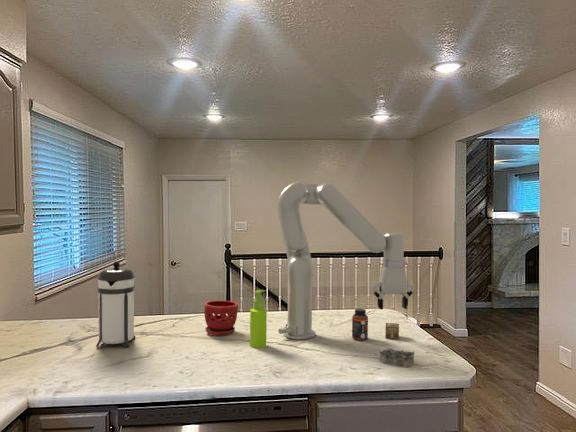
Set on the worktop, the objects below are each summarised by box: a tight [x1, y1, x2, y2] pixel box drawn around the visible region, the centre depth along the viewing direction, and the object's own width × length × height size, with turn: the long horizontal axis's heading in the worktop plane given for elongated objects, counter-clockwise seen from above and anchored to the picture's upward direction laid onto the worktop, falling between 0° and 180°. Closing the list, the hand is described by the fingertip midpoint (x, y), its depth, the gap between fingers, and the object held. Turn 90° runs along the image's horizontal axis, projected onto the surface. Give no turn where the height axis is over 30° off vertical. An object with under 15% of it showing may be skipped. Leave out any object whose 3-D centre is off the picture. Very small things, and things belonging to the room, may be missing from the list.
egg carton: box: [379, 347, 415, 368], centre depth 151 cm, size 11×8×4 cm
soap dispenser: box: [249, 289, 268, 349], centre depth 167 cm, size 6×7×20 cm
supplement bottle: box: [351, 308, 369, 342], centre depth 177 cm, size 6×6×11 cm
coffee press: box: [95, 261, 136, 350], centre depth 168 cm, size 17×16×30 cm
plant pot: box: [203, 300, 239, 337], centre depth 183 cm, size 13×13×12 cm
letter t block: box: [384, 322, 400, 340], centre depth 179 cm, size 5×5×5 cm
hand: (392, 308), depth 179 cm, fingers open, 9 cm apart
